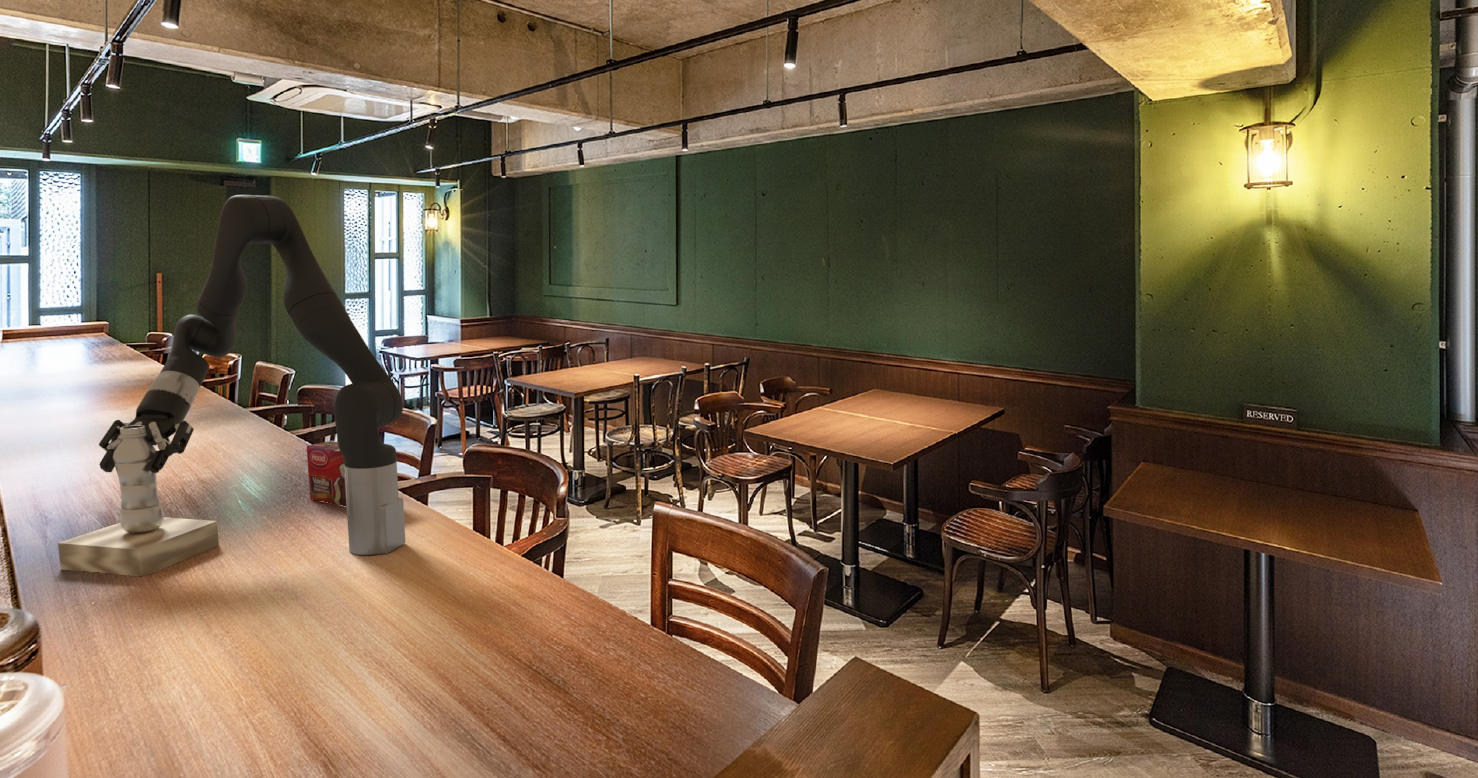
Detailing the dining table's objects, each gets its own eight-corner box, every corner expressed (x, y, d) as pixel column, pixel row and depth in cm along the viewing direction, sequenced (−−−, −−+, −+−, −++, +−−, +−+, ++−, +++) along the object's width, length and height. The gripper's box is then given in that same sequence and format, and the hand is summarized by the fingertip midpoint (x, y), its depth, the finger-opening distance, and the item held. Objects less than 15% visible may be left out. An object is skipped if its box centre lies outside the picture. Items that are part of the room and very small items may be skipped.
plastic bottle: (140, 538, 135) (129, 431, 132) (111, 534, 136) (99, 429, 134) (174, 527, 141) (164, 424, 138) (146, 524, 143) (135, 422, 140)
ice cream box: (391, 504, 174) (388, 449, 172) (368, 512, 168) (364, 455, 166) (334, 493, 182) (331, 440, 180) (310, 500, 177) (306, 445, 175)
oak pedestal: (218, 545, 146) (216, 521, 145) (142, 576, 130) (139, 549, 129) (144, 539, 148) (142, 515, 148) (60, 569, 133) (57, 543, 132)
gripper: (120, 387, 142) (75, 459, 132) (195, 388, 142) (155, 460, 133) (144, 409, 148) (102, 480, 138) (216, 410, 148) (179, 481, 139)
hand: (128, 470), depth 135 cm, fingers open, 8 cm apart
